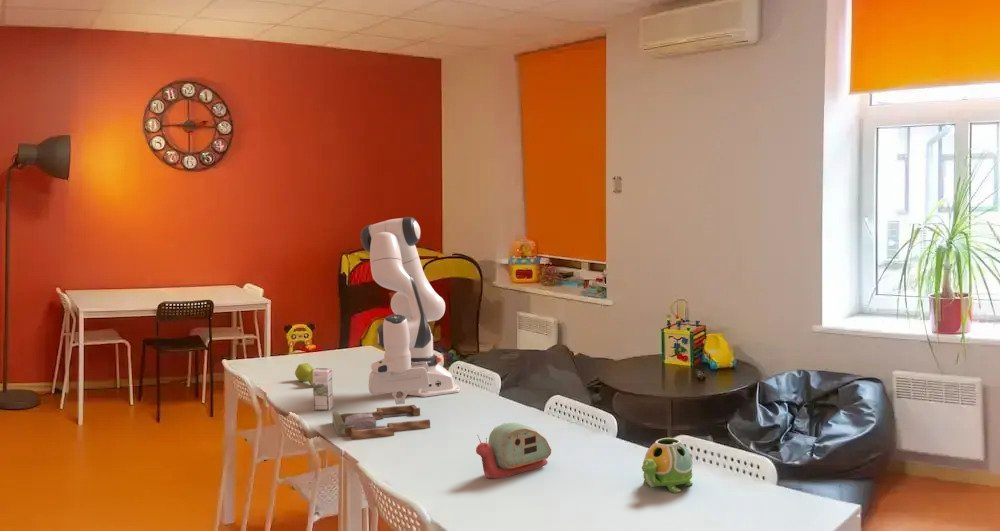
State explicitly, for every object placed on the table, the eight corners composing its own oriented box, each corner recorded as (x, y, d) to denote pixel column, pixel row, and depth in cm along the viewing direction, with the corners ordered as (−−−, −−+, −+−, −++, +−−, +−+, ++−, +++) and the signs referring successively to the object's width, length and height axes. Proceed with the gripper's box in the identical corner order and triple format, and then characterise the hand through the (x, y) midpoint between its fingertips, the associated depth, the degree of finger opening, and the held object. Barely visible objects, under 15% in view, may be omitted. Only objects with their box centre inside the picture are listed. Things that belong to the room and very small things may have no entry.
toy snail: (537, 458, 263) (537, 412, 262) (555, 465, 257) (554, 417, 256) (469, 477, 248) (468, 428, 246) (486, 484, 242) (485, 434, 240)
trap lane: (416, 411, 319) (416, 400, 318) (433, 431, 293) (432, 419, 293) (331, 419, 310) (330, 407, 310) (340, 440, 285) (339, 428, 284)
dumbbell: (328, 386, 361) (328, 368, 360) (310, 388, 356) (309, 371, 355) (312, 378, 374) (311, 361, 373) (294, 381, 370) (293, 364, 369)
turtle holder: (624, 491, 235) (623, 446, 234) (662, 473, 249) (662, 431, 247) (664, 502, 227) (664, 456, 226) (701, 483, 240) (702, 439, 239)
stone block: (349, 439, 293) (379, 430, 296) (346, 425, 292) (376, 416, 295) (344, 430, 304) (373, 422, 307) (341, 417, 304) (369, 408, 307)
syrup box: (333, 406, 327) (332, 367, 326) (329, 410, 322) (327, 370, 320) (318, 406, 328) (316, 367, 327) (313, 410, 322) (311, 370, 321)
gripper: (425, 358, 308) (427, 397, 310) (366, 365, 302) (368, 405, 303) (430, 362, 302) (432, 402, 304) (369, 369, 296) (372, 409, 298)
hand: (400, 403), depth 304 cm, fingers closed
